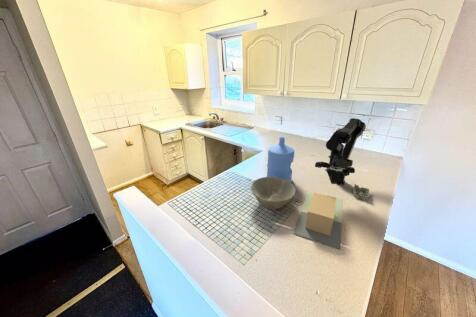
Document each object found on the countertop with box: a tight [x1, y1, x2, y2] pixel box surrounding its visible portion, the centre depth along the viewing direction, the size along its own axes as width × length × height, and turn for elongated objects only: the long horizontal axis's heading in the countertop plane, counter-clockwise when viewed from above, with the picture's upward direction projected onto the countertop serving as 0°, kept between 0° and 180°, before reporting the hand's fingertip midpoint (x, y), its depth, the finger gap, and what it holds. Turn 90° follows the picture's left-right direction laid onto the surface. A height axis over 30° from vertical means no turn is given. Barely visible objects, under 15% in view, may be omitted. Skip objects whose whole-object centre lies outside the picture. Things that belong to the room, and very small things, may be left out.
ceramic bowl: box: [250, 176, 296, 210], centre depth 100 cm, size 22×23×10 cm
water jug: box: [266, 136, 295, 183], centre depth 119 cm, size 16×16×28 cm
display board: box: [292, 190, 344, 251], centre depth 93 cm, size 36×18×1 cm, turn 152°
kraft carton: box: [305, 192, 337, 236], centre depth 87 cm, size 16×10×9 cm, turn 152°
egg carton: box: [352, 183, 370, 201], centre depth 107 cm, size 11×8×4 cm
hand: (332, 184), depth 100 cm, fingers closed
